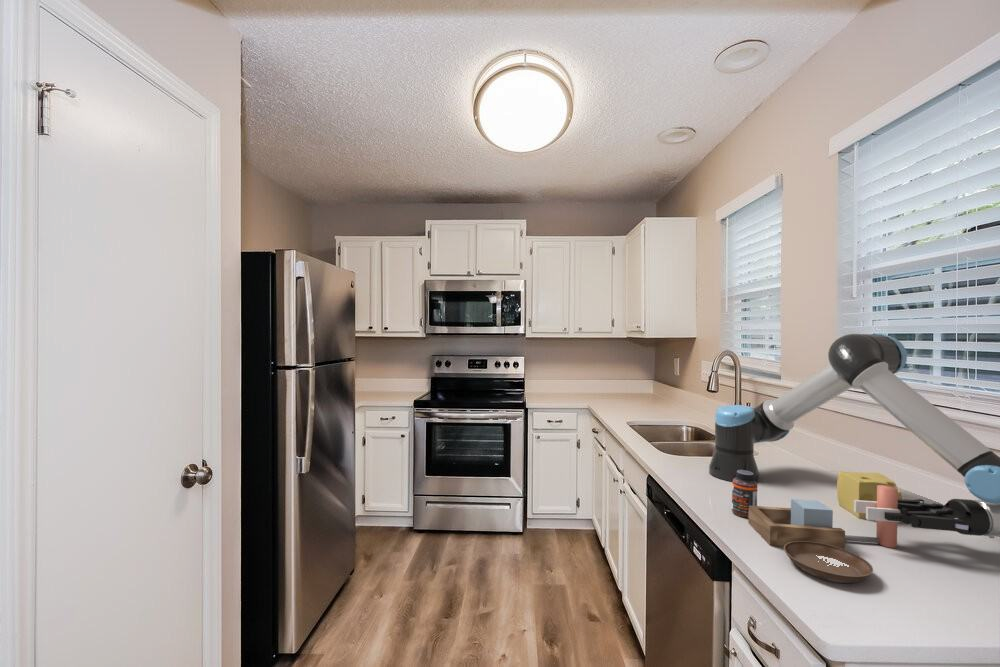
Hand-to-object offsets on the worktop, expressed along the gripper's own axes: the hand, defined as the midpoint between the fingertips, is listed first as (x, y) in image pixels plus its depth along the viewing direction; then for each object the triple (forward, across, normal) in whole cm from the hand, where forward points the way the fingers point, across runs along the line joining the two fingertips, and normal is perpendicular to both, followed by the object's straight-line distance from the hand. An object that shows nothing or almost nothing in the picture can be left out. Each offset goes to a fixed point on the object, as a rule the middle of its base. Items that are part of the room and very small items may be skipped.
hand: (861, 509), depth 103 cm
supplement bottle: (+21, +12, -8) cm, 25 cm away
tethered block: (+3, 0, -7) cm, 8 cm away
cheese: (-13, +20, -8) cm, 25 cm away
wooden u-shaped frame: (+13, +1, -8) cm, 15 cm away
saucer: (+15, -14, -8) cm, 22 cm away
